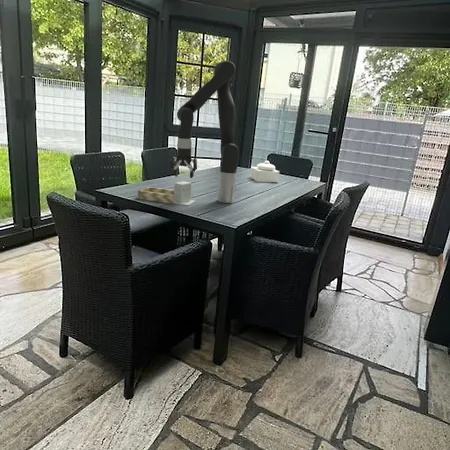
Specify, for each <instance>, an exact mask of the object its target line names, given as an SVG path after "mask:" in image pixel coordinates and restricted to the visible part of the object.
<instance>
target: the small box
mask: <svg viewBox="0 0 450 450" xmlns="http://www.w3.org/2000/svg"><path fill="white" fill-rule="evenodd" d="M173 188H174V189H173V190H174V202H178V203H184V202H189V201H190V200H191V198H192V197H191V195H192V182H188V181H185V180H184V181H177V182H174V187H173Z"/></svg>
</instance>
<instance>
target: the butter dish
mask: <svg viewBox="0 0 450 450" xmlns="http://www.w3.org/2000/svg"><path fill="white" fill-rule="evenodd" d="M250 178H251V179H252V180H253V179H254V180H253V181H254V182H256V183H271V182H278V183H279V178H280V171H279V170H278V169H277V170H276V166H275V165H274V164H272V163H270V161H269V160H265V161H264V162H260V163H258V164H256V166H251V170H250Z"/></svg>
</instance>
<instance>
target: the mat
mask: <svg viewBox="0 0 450 450" xmlns="http://www.w3.org/2000/svg"><path fill="white" fill-rule="evenodd" d="M194 203H196V200H191V199H190V201H189V202H184V203H178V202H175V201H174V203H173V204H174V205H180V206H181V205H182V206H188V207H189V206H191V205H193V204H194Z"/></svg>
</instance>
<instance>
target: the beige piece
mask: <svg viewBox="0 0 450 450" xmlns="http://www.w3.org/2000/svg"><path fill="white" fill-rule="evenodd" d="M137 199H138V200H144V201H146V200H147V201H152V202H157V201H158V203H165V204H174V202H175V201H174V189H170V188H161V187H155V186H154V187H153V186H146V187H144V188H141V189H139V190H138V191H137Z"/></svg>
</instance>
